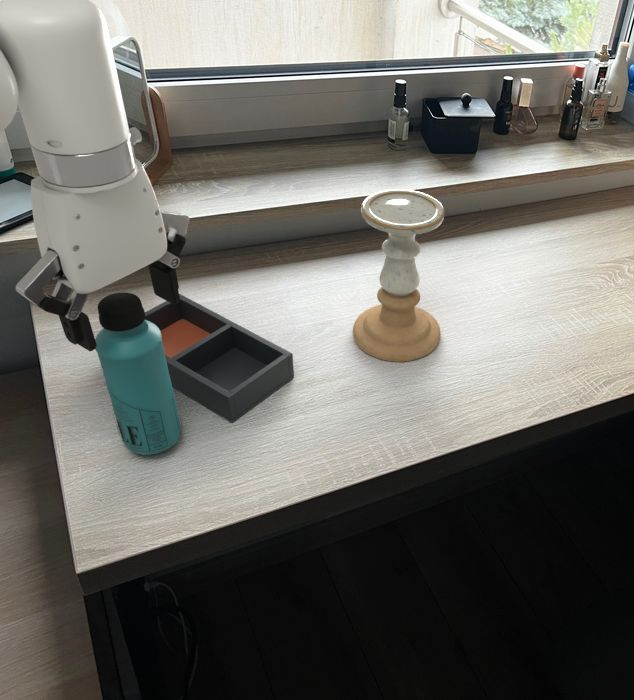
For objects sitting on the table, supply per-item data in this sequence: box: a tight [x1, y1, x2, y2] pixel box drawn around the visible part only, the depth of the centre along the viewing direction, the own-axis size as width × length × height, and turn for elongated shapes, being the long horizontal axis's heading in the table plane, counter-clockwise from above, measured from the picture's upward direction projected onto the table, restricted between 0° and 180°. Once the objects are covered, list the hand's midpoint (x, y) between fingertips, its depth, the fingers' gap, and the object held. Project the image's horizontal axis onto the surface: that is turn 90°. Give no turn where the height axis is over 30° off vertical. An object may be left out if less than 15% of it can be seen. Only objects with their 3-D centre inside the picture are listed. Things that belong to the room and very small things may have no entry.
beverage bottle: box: [95, 291, 183, 456], centre depth 76 cm, size 6×7×20 cm
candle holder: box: [352, 188, 445, 363], centre depth 96 cm, size 12×12×20 cm
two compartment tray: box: [145, 293, 295, 424], centre depth 92 cm, size 11×20×4 cm, turn 58°
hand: (127, 320), depth 71 cm, fingers open, 9 cm apart
